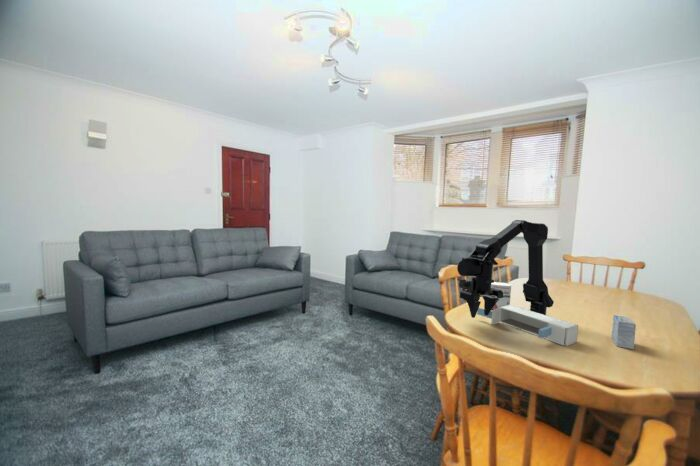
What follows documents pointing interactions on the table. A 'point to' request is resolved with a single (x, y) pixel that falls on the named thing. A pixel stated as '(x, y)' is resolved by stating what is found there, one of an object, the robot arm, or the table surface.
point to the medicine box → (623, 332)
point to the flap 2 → (553, 333)
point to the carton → (535, 322)
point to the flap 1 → (491, 315)
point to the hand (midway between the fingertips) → (479, 316)
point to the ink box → (506, 294)
